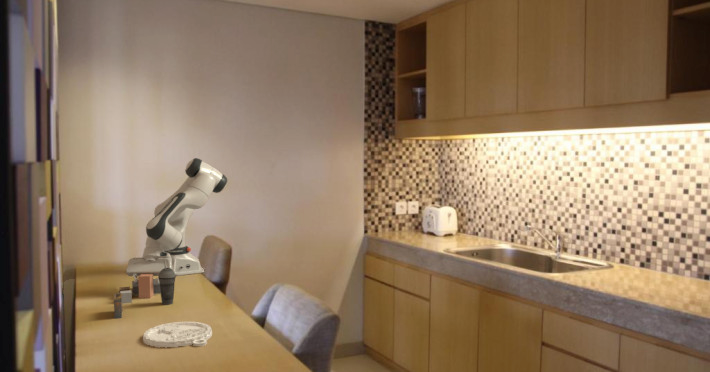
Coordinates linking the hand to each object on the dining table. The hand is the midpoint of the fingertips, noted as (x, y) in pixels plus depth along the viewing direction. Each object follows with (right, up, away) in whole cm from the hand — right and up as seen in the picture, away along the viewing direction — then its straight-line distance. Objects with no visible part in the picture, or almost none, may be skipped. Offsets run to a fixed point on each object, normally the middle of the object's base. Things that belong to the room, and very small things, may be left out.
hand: (146, 282), depth 256 cm
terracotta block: (0, -6, 0) cm, 6 cm away
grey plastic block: (-6, -7, -8) cm, 12 cm away
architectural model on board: (-1, -9, -27) cm, 28 cm away
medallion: (+33, -10, -56) cm, 65 cm away
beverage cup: (+13, -7, -11) cm, 18 cm away
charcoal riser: (-4, -6, +11) cm, 13 cm away
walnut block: (-9, -7, -1) cm, 12 cm away
